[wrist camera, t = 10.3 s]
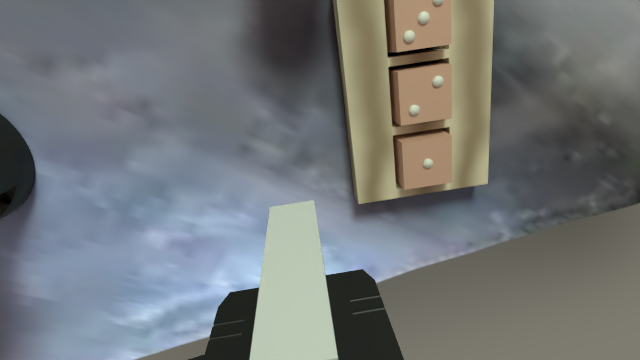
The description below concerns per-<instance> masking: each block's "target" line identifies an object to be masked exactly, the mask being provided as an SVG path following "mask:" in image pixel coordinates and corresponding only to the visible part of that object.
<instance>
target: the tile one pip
mask: <svg viewBox="0 0 640 360" xmlns="http://www.w3.org/2000/svg"><path fill="white" fill-rule="evenodd" d="M393 147H394V162H395V178H396V180H397V181H398V183H399V184H400V185H401V186H402V187H403V189H404V190H407V189H413V188H420V187H426V186H432V185H439V184H445V183H451V182H452V135H451V134H449V133H447V132H445V131H443V130H441V129H433V130H426V131H420V132H413V133H407V134H400V135H394V136H393Z"/></svg>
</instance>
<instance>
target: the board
mask: <svg viewBox="0 0 640 360" xmlns="http://www.w3.org/2000/svg"><path fill="white" fill-rule="evenodd" d="M333 7H334V16H335V25H336V34H337V43H338V52H339V60H340V69H341V78H342V87H343V96H344V105H345V114H346V123H347V132H348V141H349V150H350V159H351V168H352V177H353V186H354V195H355V197H356V199H357V201H358V204H363V203H369V202H376V201H382V200H388V199H394V198H401V197H407V196H413V195H420V194H426V193H432V192H439V191H445V190H451V189H457V188H464V187H470V186H476V185H483V184H488V160H489V131H490V101H491V72H492V42H493V13H494V0H451V43H452V44H450V45H443V46H438V49H436V50H429V51H423V52H416V53H409V54H402V55H396V56H389V57H388V55H387V40H386V25H385V10H384V0H333ZM432 60H438V63H445V64H452V118H449V119H443V120H436V121H430V122H423V123H417V124H410V125H404V126H400V125H399V124H397V123H396V122H392V116H391V101H390V86H389V71H388V67H391V66H398V65H405V64H411V63H418V62H425V61H432ZM433 129H441V130H443V131H445V132H447V133H449V134H451V135H452V182H451V183H445V184H439V185H432V186H426V187H420V188H413V189H407V190H404V189H403V187H402V186H401V185H400V184H399V183H398V181H397V180H396V178H395V162H394V147H393V136H394V135H400V134H407V133H413V132H420V131H426V130H433Z"/></svg>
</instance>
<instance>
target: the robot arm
mask: <svg viewBox="0 0 640 360" xmlns="http://www.w3.org/2000/svg"><path fill="white" fill-rule="evenodd" d="M33 183H34V164H33V160H32V156H31V153H30V151H29V148H28V146H27V144H26V143H25V141H24V139H23V138H22V136H21V135H20V133H19V132H18V131H17V130H16V128H15V127H14V126H13V125H12V124H11V123H10V122H9V121H8V120H7V119H6V118H5V117H3V116H2V115H1V114H0V218H2V217H4V216H6V215H7V214H9V213H11V212H13V211H14V210H16V209H17V208H19V207H20V206H21V205H22V204H23V203H24V202H25V201H26V199H27V198H28V196H29V194H30V192H31V190H32V187H33ZM189 360H404V359H403V356H402V353H401V351H400V348H399V345H398V342H397V340H396V337H395V334H394V331H393V329H392V326H391V323H390V321H389V318H388V315H387V313H386V310H385V308H384V304H383V302H382V299H381V297H380V293H379V291H378V288H377V285H376V282H375V280H374V279H373V278H372V277H371V276H369V275H368V274H367V273H366V272H365V271H364V270H363V269H361V270H355V271H349V272H343V273H337V274H331V275H325V269H324V263H323V256H322V250H321V243H320V237H319V231H318V224H317V218H316V212H315V205H314V200H312V201H306V202H300V203H293V204H287V205H281V206H274V207H270V212H269V220H268V227H267V234H266V242H265V249H264V257H263V264H262V271H261V279H260V286H259V288H254V289H248V290H242V291H236V292H230V293H229V294H228V296H227V297H226V298H225V299H224V301H223V302H222V303H221V304H220V306H219V307H218V310H217V313H216V317H215V320H214V327H212V331H211V334H210V341H209V342H208V345H207V349H206V352H205V355H201V356H198V357H195V358H192V359H189Z"/></svg>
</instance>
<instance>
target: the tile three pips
mask: <svg viewBox="0 0 640 360" xmlns="http://www.w3.org/2000/svg"><path fill="white" fill-rule="evenodd" d="M384 10H385V25H386V40H387V52H402V51H409V50H416V49H422V48H429V47H436V46H443V45H450V44H452V43H451V0H384Z"/></svg>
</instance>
